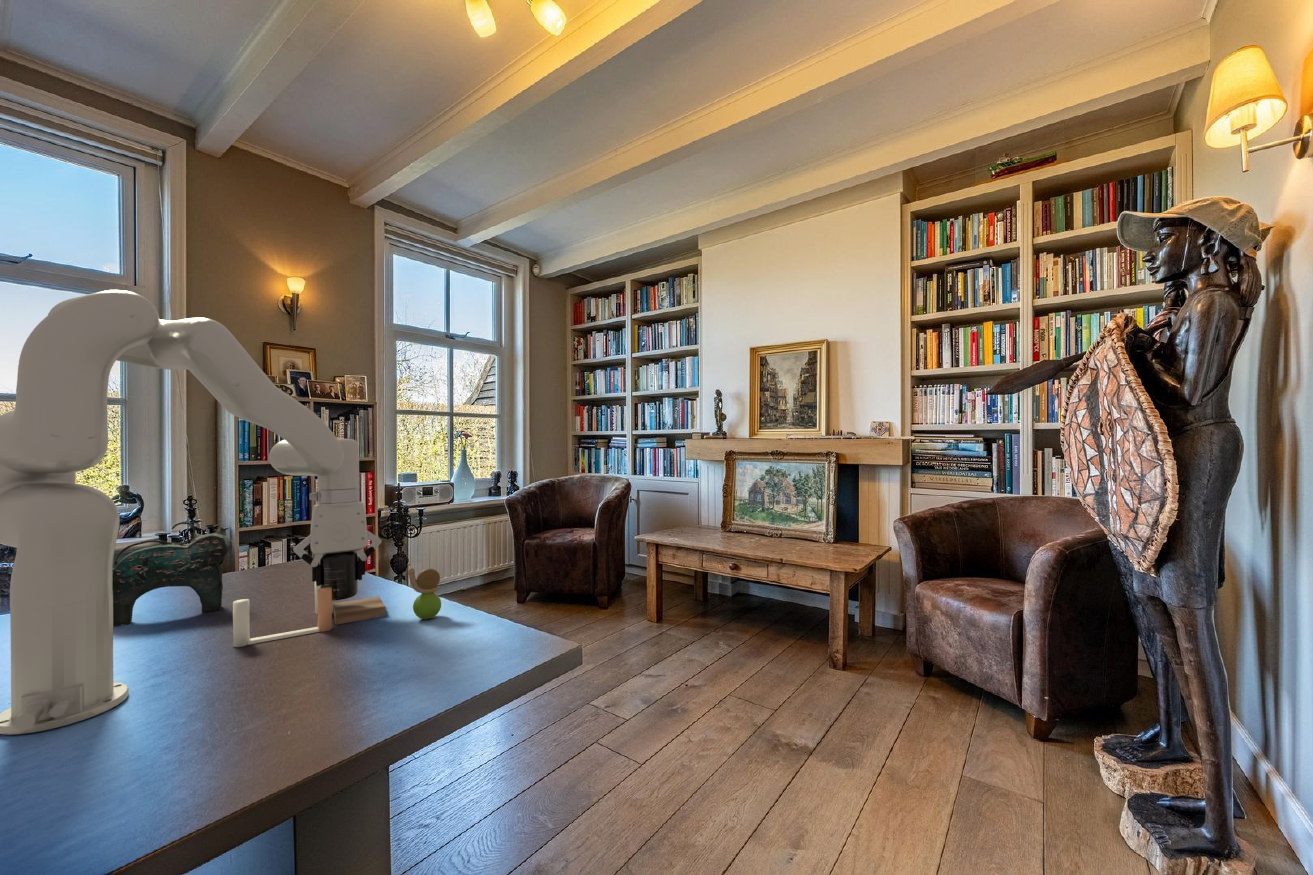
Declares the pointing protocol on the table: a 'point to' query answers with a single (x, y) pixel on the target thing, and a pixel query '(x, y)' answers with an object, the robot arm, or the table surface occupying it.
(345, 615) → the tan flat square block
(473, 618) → the table surface
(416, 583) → the snail figurine
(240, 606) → the post fence
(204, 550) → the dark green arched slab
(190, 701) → the table surface
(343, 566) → the supplement bottle
